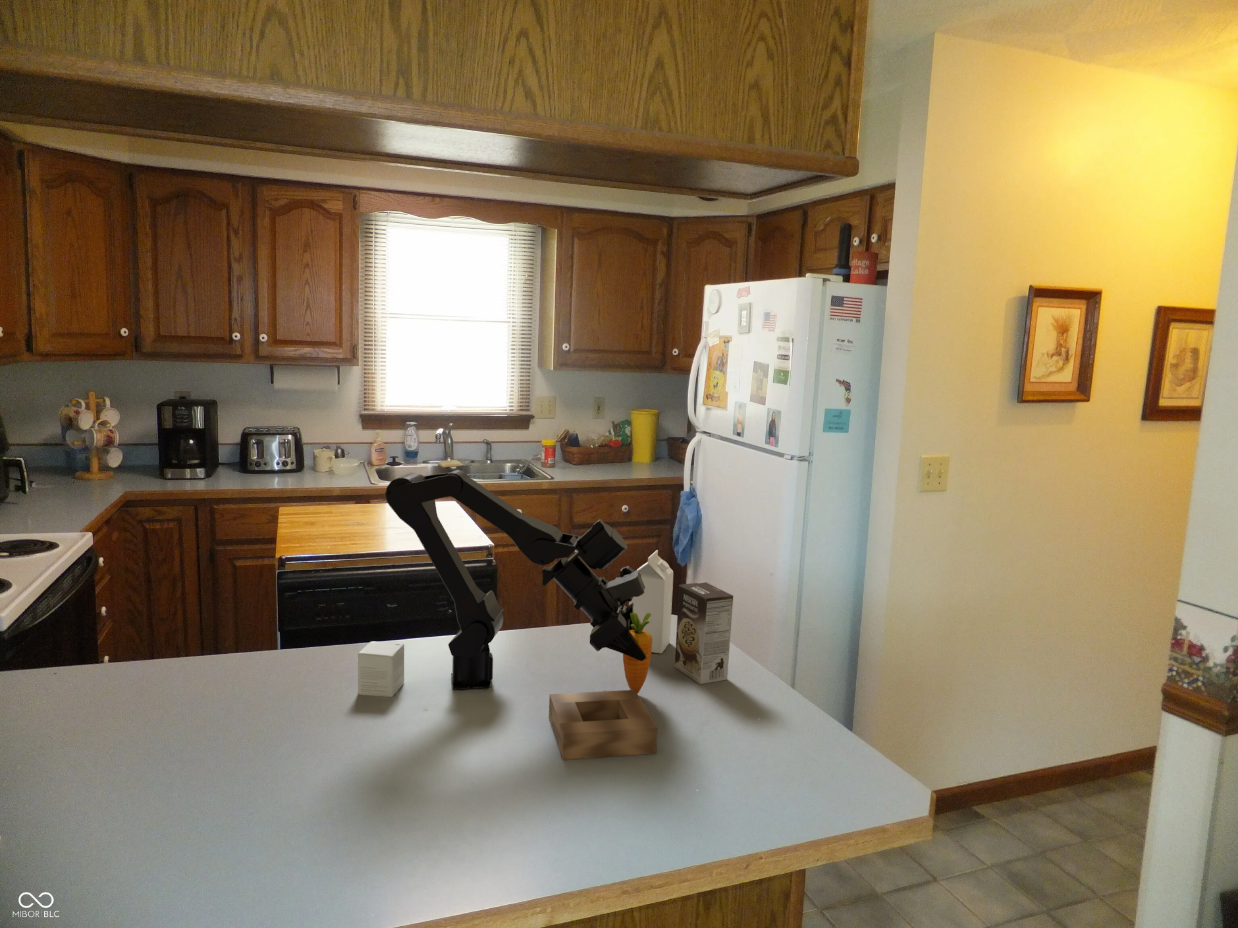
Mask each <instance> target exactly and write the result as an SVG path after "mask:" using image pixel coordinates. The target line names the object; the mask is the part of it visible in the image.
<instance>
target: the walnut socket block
mask: <svg viewBox="0 0 1238 928" xmlns="http://www.w3.org/2000/svg"><path fill="white" fill-rule="evenodd" d="M548 704H549V705H548V719H549V722H550V726H551V728H552V732H553V735H554V738H555V742H556V744H557V747H558V750H559V753H560V757H561V759H562V761H566V760H580V759H581V760H583V759H594V758H609V757H623V756H624V757H625V756H638V755H652V754H653V755H654V754H656V753H657V743H658V741H657V740H658V727H657V725H656V723H655V721H654V720H653V718H652V716H651V715H650V712H649V711H648V710H647V708H646V706H645V705H644V703H643V702H642V700H641V698H640V696H639V695H638V694H637V693H636V691H635V690H630V689H625V690H624V689H623V690H603V691H587V692H586V691H585V692H584V691H583V692H568V693H567V692H566V693H565V692H564V693H562V692H561V693H550V694H549V699H548Z"/></svg>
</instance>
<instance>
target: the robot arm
mask: <svg viewBox="0 0 1238 928" xmlns="http://www.w3.org/2000/svg"><path fill="white" fill-rule="evenodd" d="M385 489H386V490H385V492H384V493H385V494H384V497H385V500H386V503H387V505H388V506H389V507H390V508H391V510H392V511H393V512H394V513H395V515H396V516H397V517H398V519H400V520H401V521H403V523H404V524H406V525H407V526H408V527H410V528H411V529H412V530H413V531H414V532H415V535H416V537H417V538H418V540H419V543H420V544H421V545H422V547H423V549H424V550H425V552H426V554H427V556H428V558H429V559H430V562H431V563H432V564H433V567H434V568H435V570H436V572H437V573H438V575H439V577H440V580H441V581H442V583H443V585H444V586H445V587H446V589H447V591H448V593H449V595H450V596H451V599H452V601H453V603H454V609H455V614H456V621H457V624H458V627H459V630H458V632H457V633H456V634H455V635H454V637H453V638H452V639H451V640H450V642H449V643H448V649H449V651H450V654H451V656H452V660H451V661H452V665H451V666H452V667H451V668H452V669H451V670H452V672H451V674H450V675H451V679H450V680H451V689H453V690H466V689H485V688H487V689H488V688H491V686H492V685H491V681H492V680H493V676H494V657H493V653H492V652H491V649H490V645H489V644H490V643H492V641H493V640H494V638H495V636H496V635H498V633H499V631H500V630H501V628H502V627H503V623H504V615H503V613H502V612H503V611H504V608H503V606H501V605H500V603H499V602H498V600H497V598H496V595H495V592H494V591H493V590H489V591H488V592H487V593H485V592H484V591H482V590H481V589H480V588H479V587H478V586H477V584H476V583H475V581H474V579H473V577H472V576H471V574H470V572H469V570H468V569H467V567H466V565H465V563H464V561H463V560H462V558H461V556H460V555H459V553H458V550H457V549H456V548H455V545H454V543H453V542H452V540H451V538H450V536H449V534H448V533H447V531H446V529H445V527H444V525H443V523H442V522H441V520H440V518H439V516H438V513H437V506H436V504H437V503H436V500H438V499H443V498H448V497H452V498H453V499H455V500H456V501H458V502H460V504H462V505H464V506H465V507H467V508H468V509H469V510H471V511H473V513H475V514H477V515H478V516H480V517H481V518H482V519H484V520H485V521H487V522H488V523H490V524H491V525H492V526H494V527H495V528H497V529H499V530H500V531H502V532H503V533H504V534H506V535H507V537H509V538H510V539H511V541H512V543H514V545H515V546H516V547H517V549H518V550H519V551H520V552H522V554H523V555H524V556H525V557H526V558H527V559H528V560H529V561H531V563H534V564H535V565H538V566H544V567H543V568H542V569H541V573H542V580H541V585H542V586H543V587H544V586H547V585H548V584H549V583H550V582H551V581H553V580H554V581H555V582H556V584H557V585H558V586H560V588H561V589H562V590H563V591H564V592H565V593H566V594H567V596H569V598H570V599H571V600H573V602H574V604H573V607H574V608H575V609H576V610H577V611H578V610H579V609H581V611H583V612H584V614H585V615H586V616H587V617H588V618H589V619H590V622H589V623H590V626H591V627H592V629H591V632H590V634H589V644H590V645H591V647H592V648H594V650H595V651H597V652H600V651H601V650H602V649H603V648H604V649H605V648H607V649H609V650H612V651H615V652H617V653H620V654H622V655H623V654H625V655H627V656H630V657H632V658H635V659H637V660H640V661H643V660H644V659H645V658H646V655H645V654H644V652H643V650H642V649H641V647H640V646H639V645H638V643H637V642H636V640H635V639H634V637H633V636H632V634H631V633H630V630H634V629H633V628H632V627H631V624H633V623H632V620H631V617H630V613H631V612H633V606H634V604H633V603H632V604H630V605H629V604H628V606H626V605H625V603H627V602H628V603H629V602H630V601H631V600H632V599H633V597H638V596H641V595H642V594H644V589H645V585H644V583H643V581H642V578H641V574H640V573H639V571H637V569H636V570H634V569H633V568H632V567H631V566H629V565H627V566H625V567H622V568H621V569H620V572H619V577H615V579H613V580H611V581H609V580H607V578H605V577H604V576H603V577H602V576H600V577H599V576H597V574H595V572H594V571H593V570H597V569H599V570H601V571H602V570H605V568H607V567H608V566H609V565H610V564H611V563H612V562H614V561H615V560H616V559H617V558H618V557H619V556H620V555H622V553H624V552H625V551H626V550H627V549H628V545H627V543H626V541H625V539H624V538H623V537H622V535H621V534H620V533H619V532H618V531H617V530H616V529H614V528H613V527H612V526H610V525H609V524H607V523H605V522H604V521H603V520H602V519H601V518H598V520H596V521H595V522H594V523H593V525H592V526H591V527H590V528H589V529H588V530H587V531H585V533H584V534H582V535H580V536H579V535H575V534H571V533H566V532H562V531H561V530H560V529H559V528H558V527H556V526H554V525H552V524H551V523H548V522H546V521H543V520H541V519H539V518H535V517H532V516H530V515H526V514H524V513H523V512H521V511H519V510H518V509H516V508H515V507H513V506H512V505H511V504H509V503H507V502H506V501H505V500H503V498H502V499H501V498H500V497H499V496H497V495H496V494H494V493H493V492H491V491H490V490H488V488H485V487H484V486H483V485H482V484H480V483H479V482H477V481H475V480H474V478H471V477H470V476H469V475H468V474H467V473H466V472H465V471H463V470H459V469H456V470H452V471H450V472H443V473H435V474H427V475H423V474H420V473H417V472H409V473H406V474H403V475H401V476H399V477H397V478H394V479H393V480H392V481H390V482H389V484H388V485H387V486H386V488H385ZM575 551H576V552H575ZM574 552H575V553H574ZM573 553H574V554H573ZM556 559H558V560H557V561H556ZM555 561H556V562H555ZM554 562H555V563H554ZM552 563H554V564H553V565H552V566H546V565H550V564H552ZM637 627H638V626H637Z"/></svg>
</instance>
